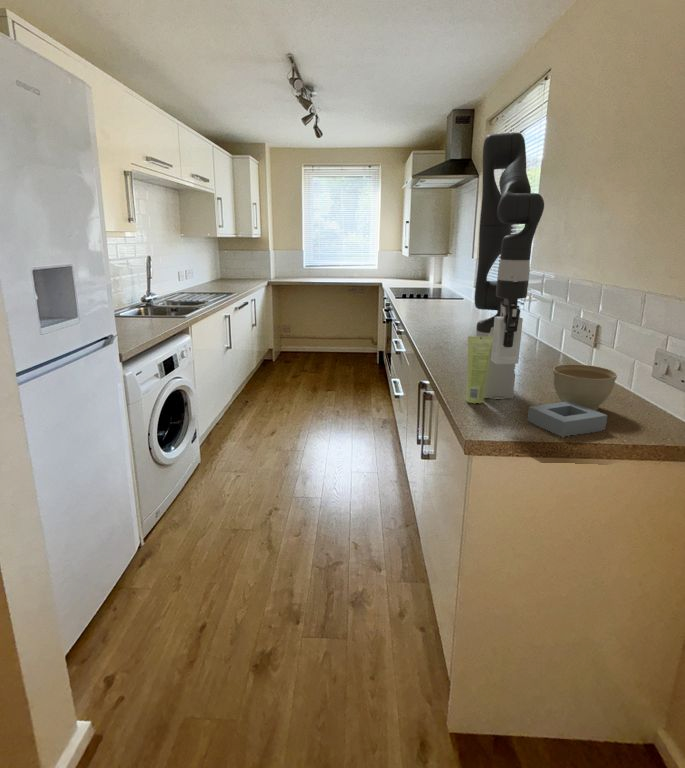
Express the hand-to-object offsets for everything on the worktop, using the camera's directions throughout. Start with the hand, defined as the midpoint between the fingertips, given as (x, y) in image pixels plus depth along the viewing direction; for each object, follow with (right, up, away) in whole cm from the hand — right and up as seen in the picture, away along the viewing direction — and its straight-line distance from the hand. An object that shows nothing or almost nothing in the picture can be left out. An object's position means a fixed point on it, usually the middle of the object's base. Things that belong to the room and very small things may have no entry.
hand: (506, 344), depth 128 cm
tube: (-4, -16, +17) cm, 23 cm away
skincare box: (0, -5, +2) cm, 5 cm away
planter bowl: (+25, -17, +13) cm, 33 cm away
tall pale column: (+4, -15, +20) cm, 26 cm away
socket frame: (+15, -21, -2) cm, 26 cm away
